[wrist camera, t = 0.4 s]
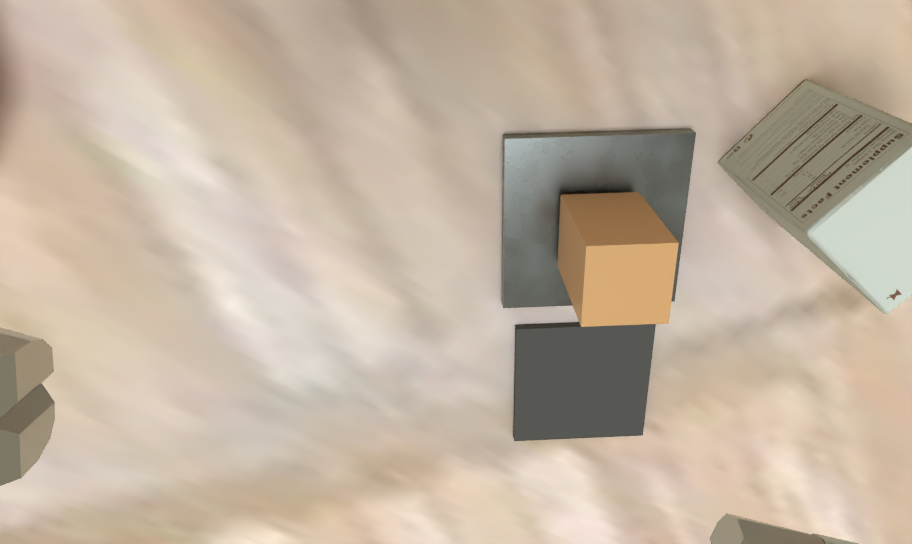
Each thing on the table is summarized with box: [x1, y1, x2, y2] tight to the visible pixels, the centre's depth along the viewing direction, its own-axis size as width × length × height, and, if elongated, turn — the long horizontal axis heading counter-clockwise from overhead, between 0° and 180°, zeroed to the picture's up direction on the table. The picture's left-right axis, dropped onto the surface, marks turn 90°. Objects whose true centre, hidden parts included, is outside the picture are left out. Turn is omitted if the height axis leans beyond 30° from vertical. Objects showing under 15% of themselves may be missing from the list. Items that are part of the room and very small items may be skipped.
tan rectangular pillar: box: [557, 192, 679, 327], centre depth 44 cm, size 5×5×8 cm
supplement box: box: [719, 80, 912, 314], centre depth 42 cm, size 7×7×13 cm
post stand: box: [502, 129, 696, 308], centre depth 45 cm, size 12×12×9 cm
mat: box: [513, 323, 656, 441], centre depth 54 cm, size 10×10×1 cm
